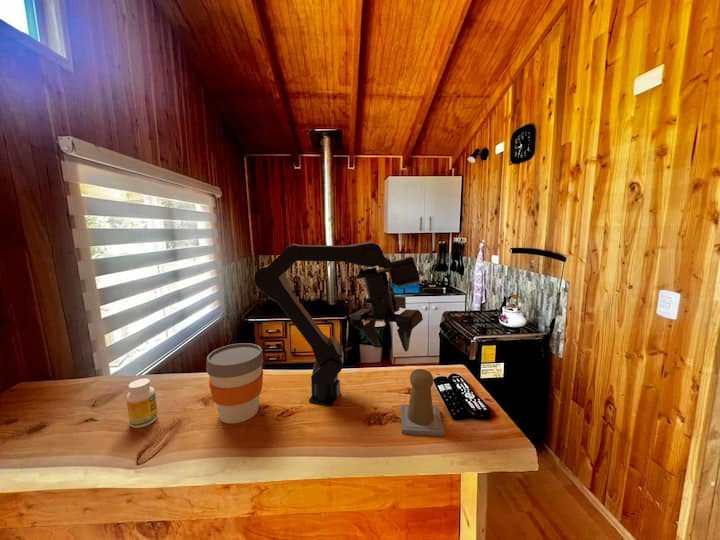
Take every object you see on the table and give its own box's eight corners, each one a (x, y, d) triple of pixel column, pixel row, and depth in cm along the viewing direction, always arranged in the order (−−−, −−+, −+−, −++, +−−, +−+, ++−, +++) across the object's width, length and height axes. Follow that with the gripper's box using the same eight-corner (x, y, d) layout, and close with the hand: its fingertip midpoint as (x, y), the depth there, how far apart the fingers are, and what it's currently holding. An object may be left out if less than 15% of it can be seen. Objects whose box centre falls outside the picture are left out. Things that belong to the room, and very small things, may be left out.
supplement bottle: (133, 417, 71) (127, 379, 69) (159, 411, 73) (155, 374, 71) (127, 431, 66) (121, 391, 64) (156, 424, 68) (151, 385, 67)
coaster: (402, 433, 65) (402, 429, 65) (400, 408, 74) (400, 404, 74) (444, 436, 64) (444, 431, 64) (437, 410, 73) (437, 406, 73)
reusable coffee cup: (276, 410, 73) (273, 352, 71) (224, 437, 64) (218, 371, 62) (251, 390, 82) (247, 338, 79) (202, 412, 72) (196, 354, 70)
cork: (430, 428, 65) (432, 381, 63) (403, 420, 67) (404, 375, 66) (436, 412, 70) (438, 368, 68) (411, 405, 73) (412, 363, 71)
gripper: (426, 280, 75) (437, 338, 77) (368, 283, 86) (379, 333, 89) (404, 295, 66) (418, 359, 69) (343, 296, 78) (356, 350, 81)
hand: (391, 349), depth 77 cm, fingers open, 9 cm apart
